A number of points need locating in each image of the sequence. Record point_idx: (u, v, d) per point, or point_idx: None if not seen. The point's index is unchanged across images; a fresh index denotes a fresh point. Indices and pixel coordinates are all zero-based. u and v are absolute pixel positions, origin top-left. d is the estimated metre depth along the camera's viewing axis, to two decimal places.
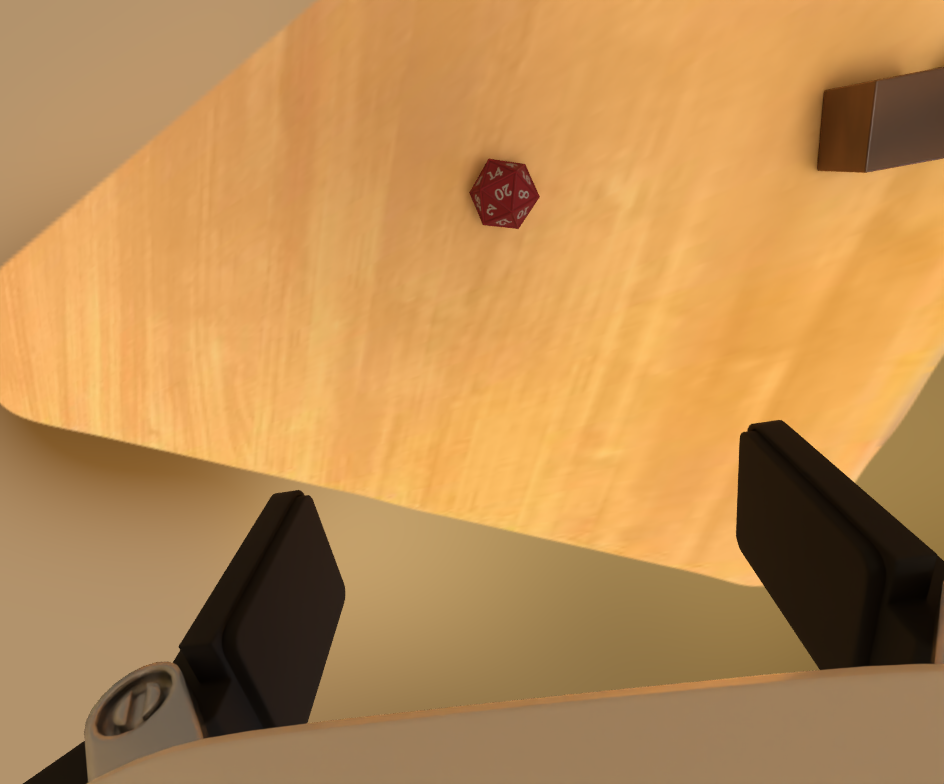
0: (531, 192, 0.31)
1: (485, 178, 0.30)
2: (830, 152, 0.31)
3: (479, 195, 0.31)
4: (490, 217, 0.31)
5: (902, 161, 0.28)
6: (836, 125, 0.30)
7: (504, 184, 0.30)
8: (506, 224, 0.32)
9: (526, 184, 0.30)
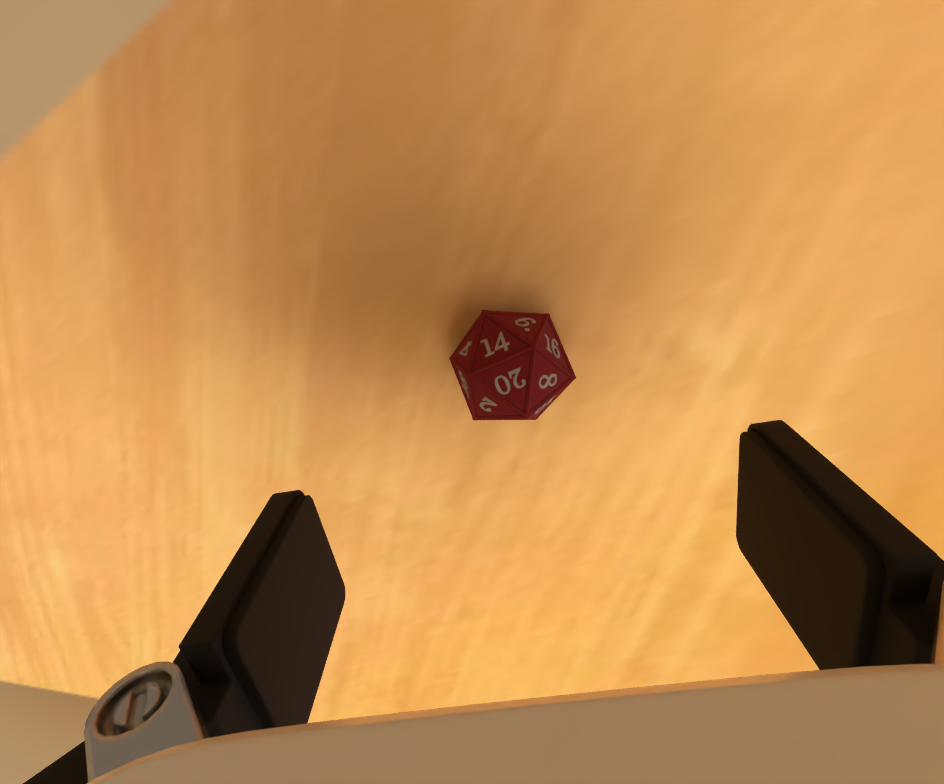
0: (561, 373, 0.17)
1: (477, 352, 0.16)
2: None
3: (465, 379, 0.17)
4: (486, 413, 0.17)
5: None
6: None
7: (512, 368, 0.16)
8: None
9: (553, 363, 0.16)
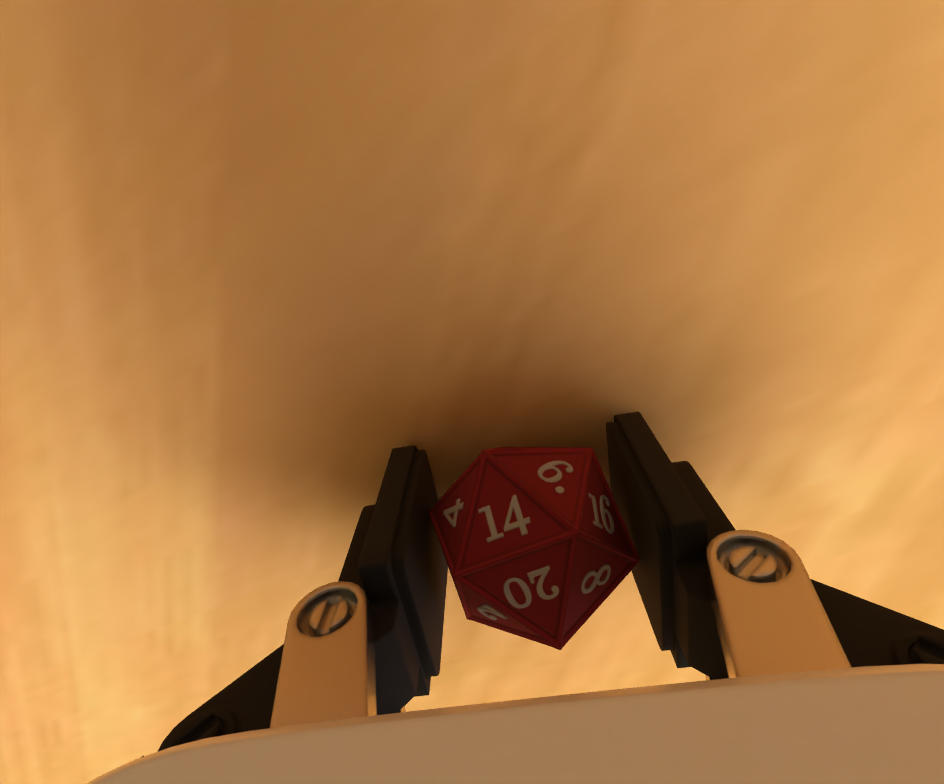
0: (618, 559, 0.10)
1: (472, 530, 0.09)
2: None
3: None
4: (488, 618, 0.10)
5: None
6: None
7: (536, 567, 0.09)
8: None
9: (605, 549, 0.09)
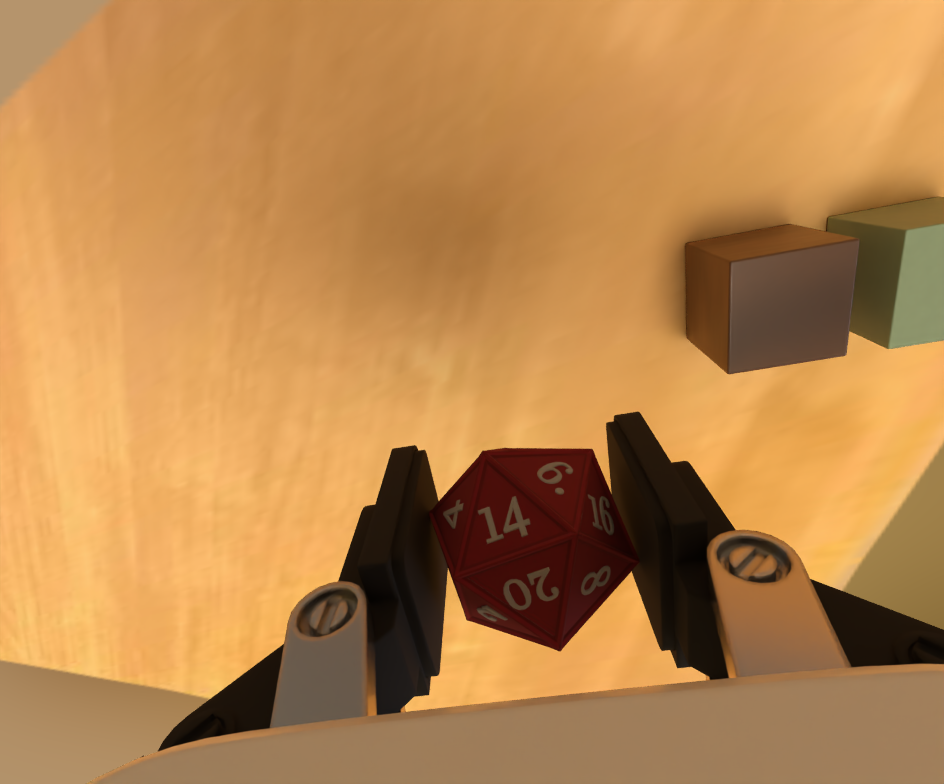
0: (618, 561, 0.10)
1: (472, 532, 0.09)
2: (696, 325, 0.23)
3: None
4: (488, 620, 0.10)
5: (778, 361, 0.20)
6: (698, 295, 0.22)
7: (535, 568, 0.09)
8: None
9: (605, 550, 0.09)
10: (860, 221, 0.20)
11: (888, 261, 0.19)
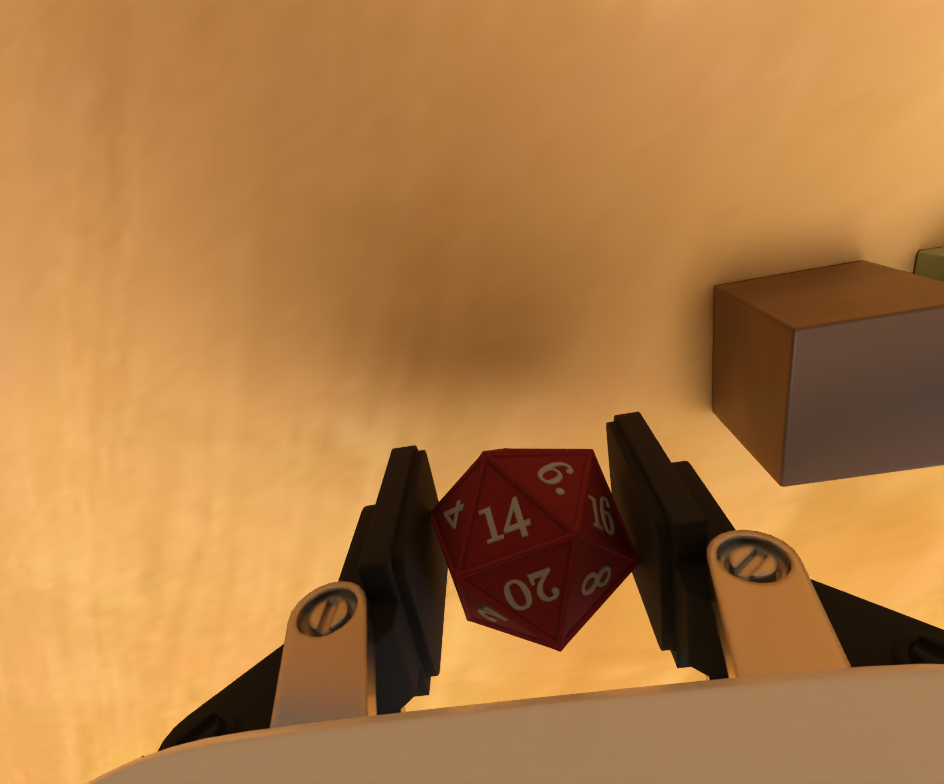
0: (618, 561, 0.10)
1: (472, 532, 0.09)
2: (728, 401, 0.16)
3: None
4: (489, 620, 0.10)
5: (857, 470, 0.14)
6: (733, 361, 0.15)
7: (536, 568, 0.09)
8: None
9: (606, 550, 0.09)
10: None
11: None
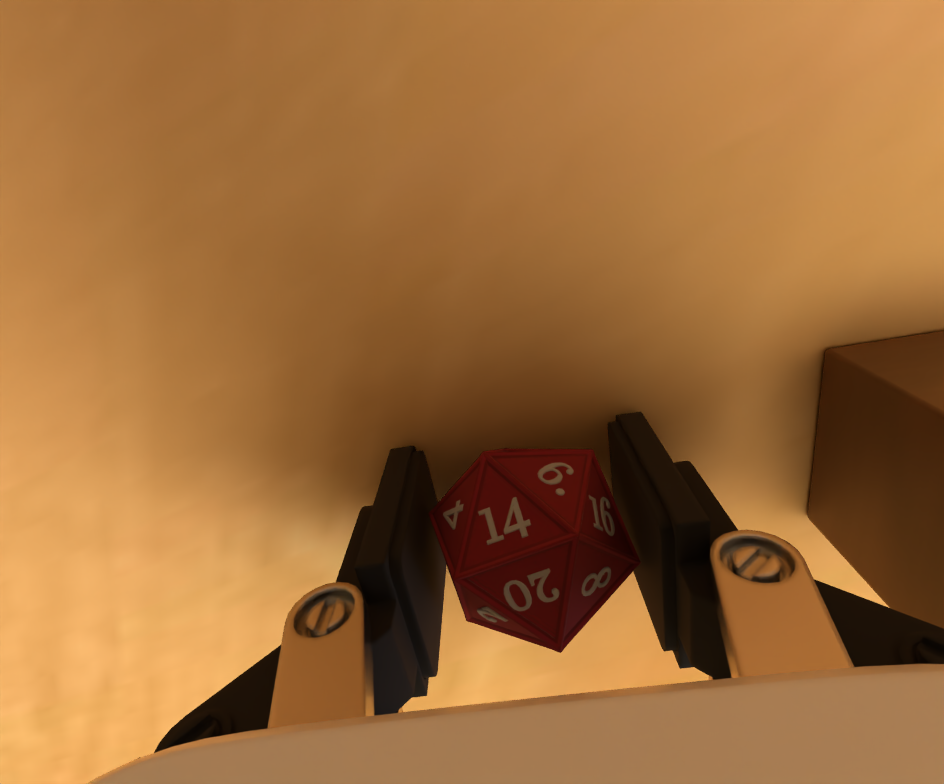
0: (618, 562, 0.10)
1: (472, 533, 0.09)
2: (843, 515, 0.11)
3: None
4: (488, 621, 0.10)
5: None
6: (861, 466, 0.10)
7: (536, 570, 0.09)
8: None
9: (606, 551, 0.09)
10: None
11: None
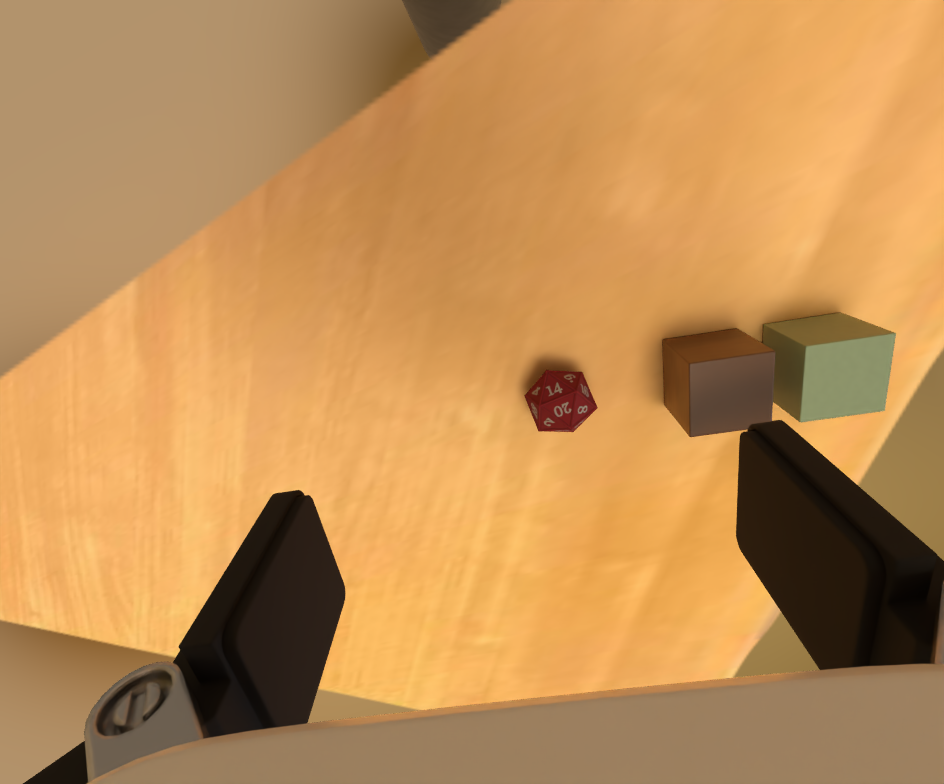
0: (589, 405, 0.30)
1: (544, 393, 0.30)
2: (670, 398, 0.32)
3: (536, 407, 0.30)
4: (547, 427, 0.31)
5: (724, 429, 0.29)
6: (671, 378, 0.31)
7: (564, 402, 0.29)
8: (562, 430, 0.31)
9: (585, 399, 0.30)
10: (782, 332, 0.29)
11: (797, 364, 0.28)
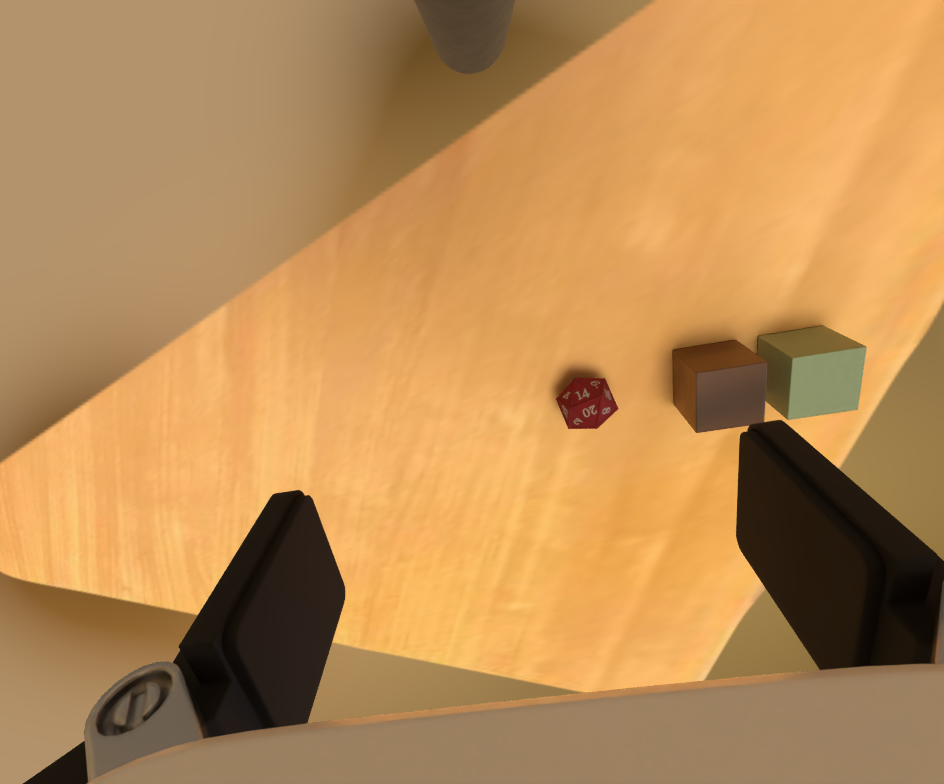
0: (612, 407, 0.36)
1: (574, 397, 0.36)
2: (679, 399, 0.38)
3: (567, 409, 0.36)
4: (576, 425, 0.37)
5: (725, 426, 0.35)
6: (680, 382, 0.37)
7: (591, 405, 0.35)
8: (588, 427, 0.37)
9: (608, 402, 0.36)
10: (773, 344, 0.35)
11: (786, 371, 0.34)
